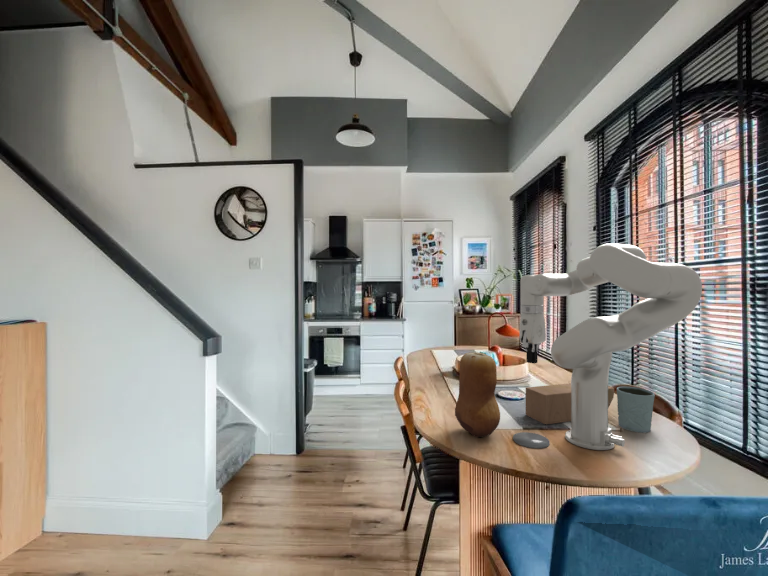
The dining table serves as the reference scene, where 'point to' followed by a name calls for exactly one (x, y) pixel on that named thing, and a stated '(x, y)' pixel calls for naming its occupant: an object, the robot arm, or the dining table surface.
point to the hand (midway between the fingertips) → (531, 362)
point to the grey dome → (531, 440)
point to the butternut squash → (477, 395)
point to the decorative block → (552, 403)
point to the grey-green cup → (635, 408)
